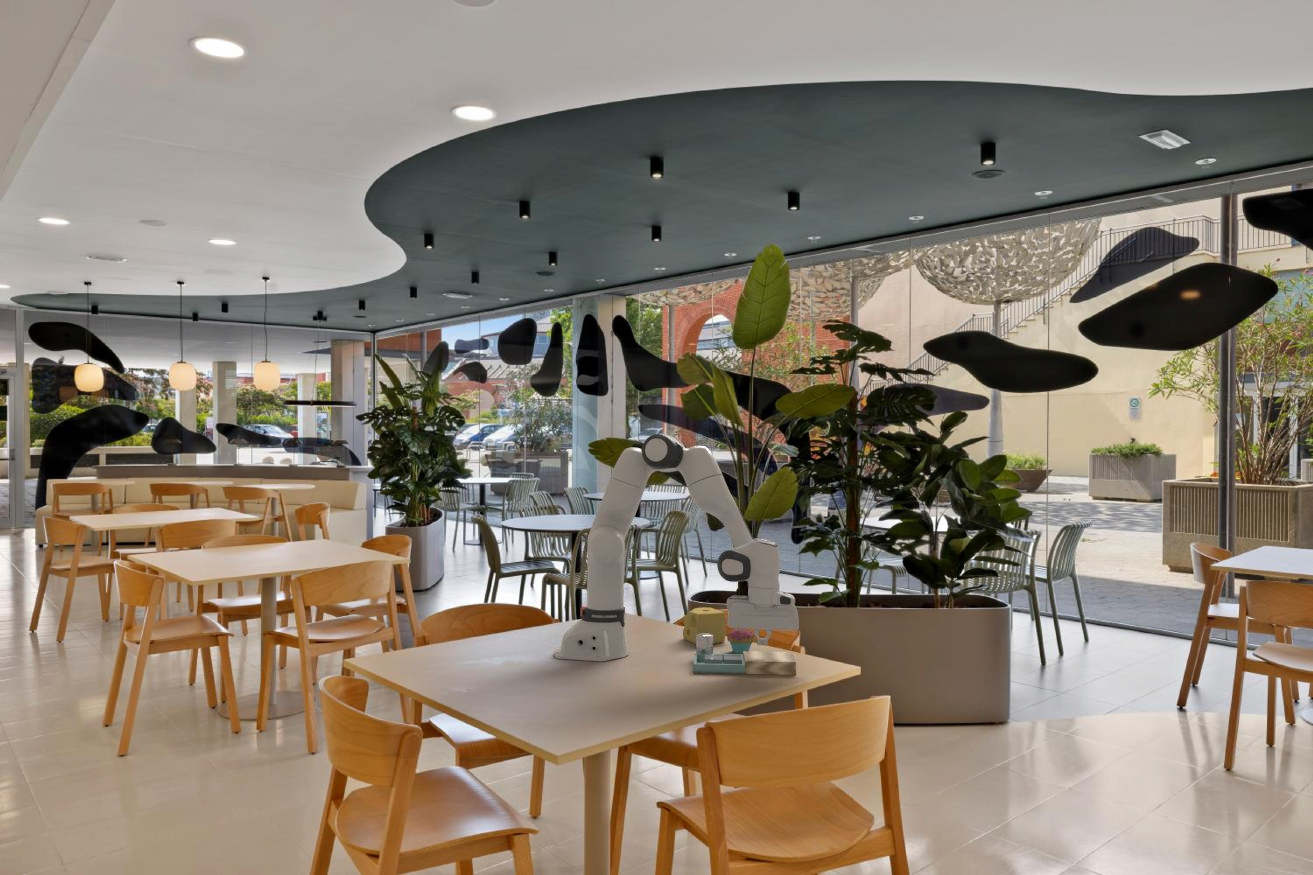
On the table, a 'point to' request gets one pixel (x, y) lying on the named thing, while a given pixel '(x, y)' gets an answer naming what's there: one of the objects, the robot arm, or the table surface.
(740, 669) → the tray
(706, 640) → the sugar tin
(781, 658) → the board
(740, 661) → the tile
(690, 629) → the cheese
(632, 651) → the table surface
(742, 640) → the cupcake
